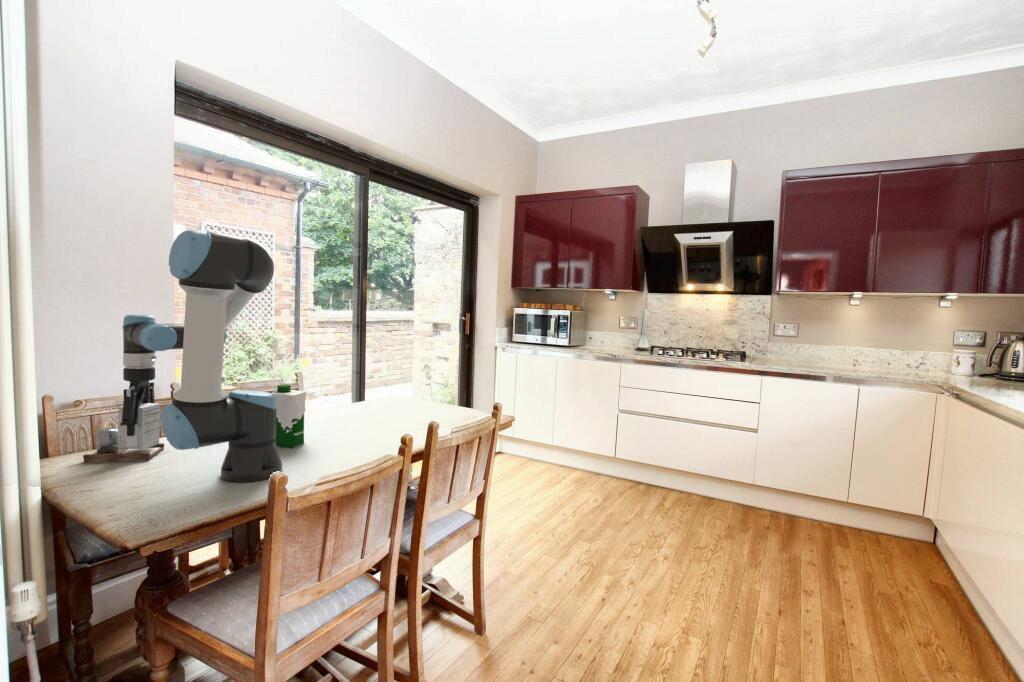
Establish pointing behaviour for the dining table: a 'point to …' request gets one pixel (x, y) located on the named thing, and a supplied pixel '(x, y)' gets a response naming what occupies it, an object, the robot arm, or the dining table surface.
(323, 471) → the dining table surface
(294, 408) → the milk carton
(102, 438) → the grey rounded cube
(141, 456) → the wooden tray
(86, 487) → the dining table surface
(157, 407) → the supplement box
